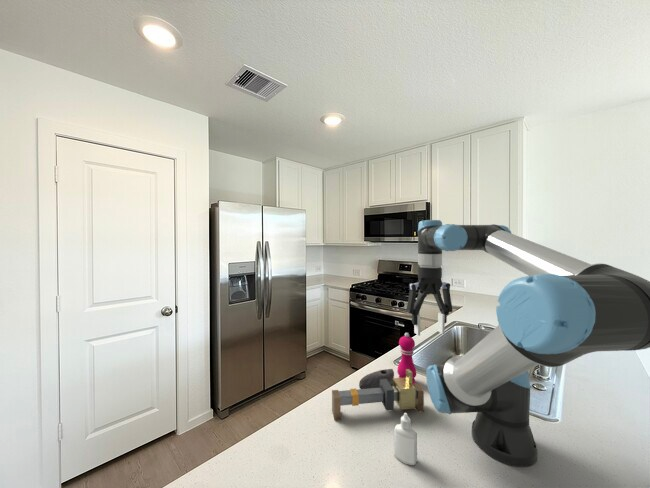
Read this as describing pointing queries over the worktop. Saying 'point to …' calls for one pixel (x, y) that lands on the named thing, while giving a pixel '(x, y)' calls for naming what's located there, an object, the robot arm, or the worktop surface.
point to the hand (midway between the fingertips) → (429, 333)
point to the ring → (387, 394)
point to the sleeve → (405, 391)
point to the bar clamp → (369, 398)
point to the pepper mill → (406, 357)
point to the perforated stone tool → (376, 379)
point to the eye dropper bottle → (405, 442)
